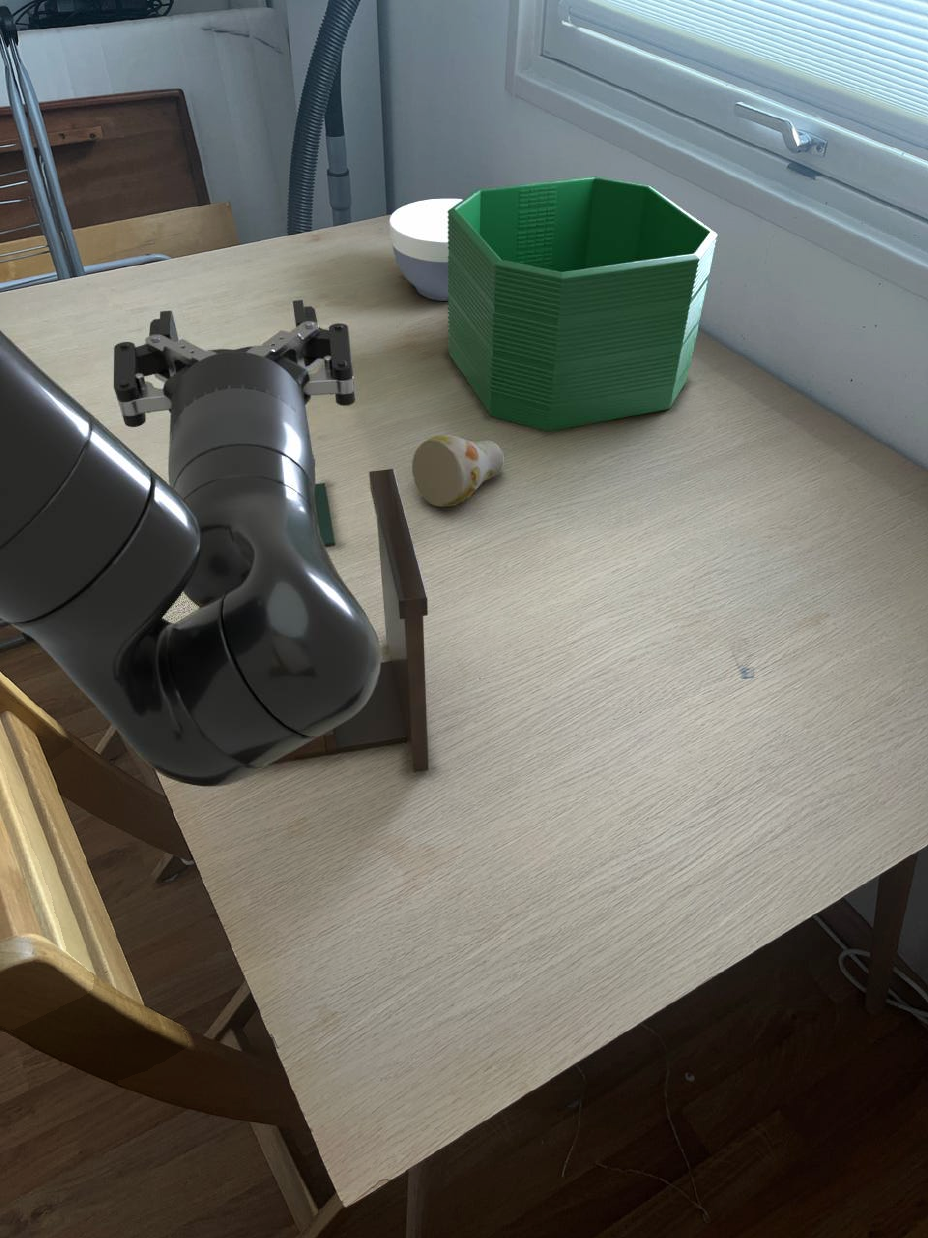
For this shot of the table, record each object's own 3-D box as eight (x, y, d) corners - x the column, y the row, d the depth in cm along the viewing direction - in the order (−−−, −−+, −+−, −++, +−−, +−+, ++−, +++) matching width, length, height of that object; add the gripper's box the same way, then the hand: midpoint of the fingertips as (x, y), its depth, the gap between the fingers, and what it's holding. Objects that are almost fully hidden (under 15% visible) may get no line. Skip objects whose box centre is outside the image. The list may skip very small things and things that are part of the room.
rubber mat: (230, 558, 84) (230, 555, 84) (228, 497, 91) (228, 493, 91) (335, 545, 86) (334, 542, 85) (325, 485, 93) (325, 482, 92)
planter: (505, 440, 99) (513, 282, 86) (435, 336, 116) (433, 192, 103) (708, 403, 105) (744, 249, 92) (613, 309, 122) (632, 170, 110)
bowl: (474, 320, 120) (475, 250, 113) (372, 298, 124) (367, 229, 118) (519, 276, 130) (523, 209, 123) (423, 257, 135) (422, 191, 128)
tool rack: (230, 803, 64) (175, 631, 52) (227, 665, 74) (180, 492, 62) (432, 769, 67) (427, 597, 54) (403, 640, 76) (393, 468, 64)
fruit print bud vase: (523, 479, 94) (511, 434, 84) (456, 539, 93) (435, 501, 84) (478, 436, 96) (461, 388, 87) (412, 494, 96) (387, 452, 86)
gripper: (368, 377, 46) (335, 254, 57) (84, 405, 44) (108, 271, 55) (376, 493, 51) (345, 359, 63) (124, 523, 49) (139, 379, 60)
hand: (234, 318), depth 59 cm, fingers open, 8 cm apart
